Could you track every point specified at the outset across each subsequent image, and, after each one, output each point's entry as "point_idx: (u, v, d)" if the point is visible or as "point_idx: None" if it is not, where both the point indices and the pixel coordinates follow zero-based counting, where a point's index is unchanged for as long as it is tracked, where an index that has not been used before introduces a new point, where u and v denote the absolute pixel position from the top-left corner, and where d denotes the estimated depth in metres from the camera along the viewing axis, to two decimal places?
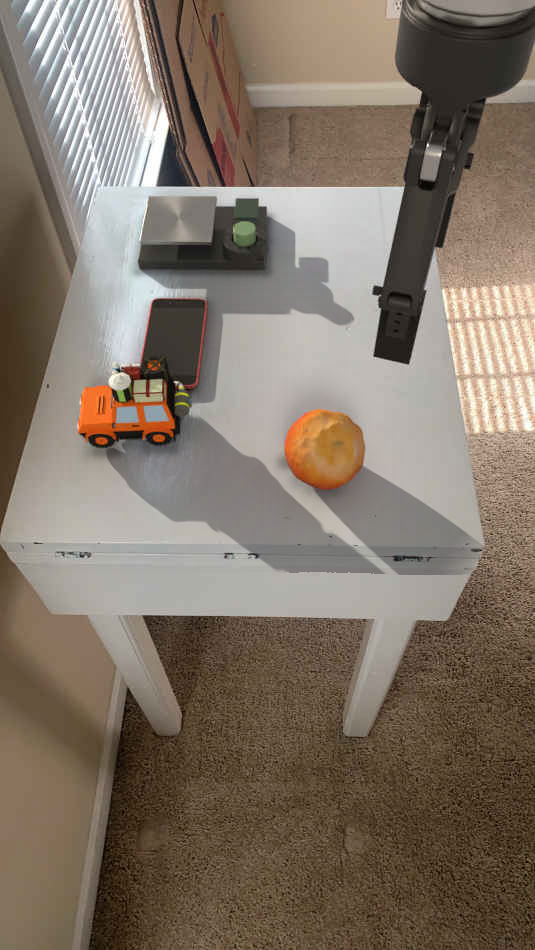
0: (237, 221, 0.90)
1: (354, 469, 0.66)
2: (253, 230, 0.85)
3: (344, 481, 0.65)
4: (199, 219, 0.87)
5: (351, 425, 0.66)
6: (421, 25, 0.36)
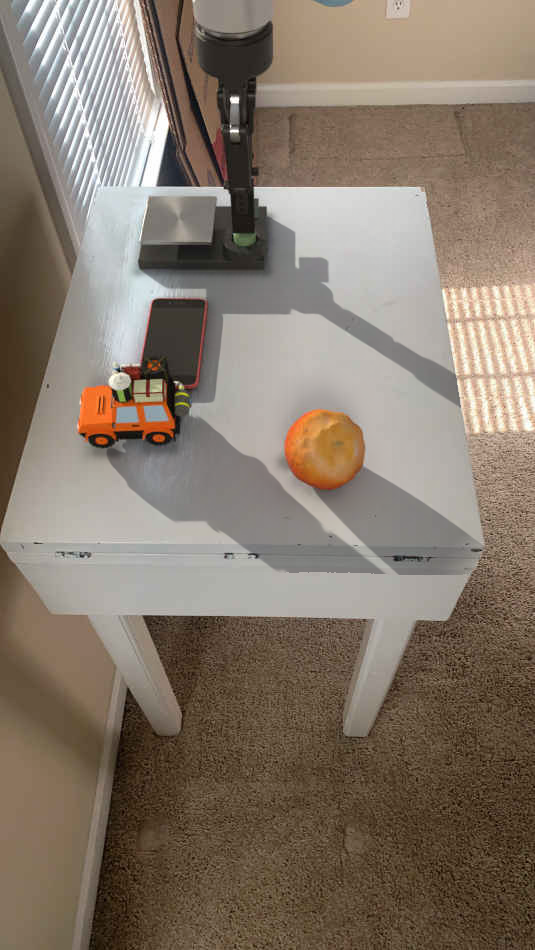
0: None
1: (354, 469, 0.66)
2: (253, 233, 0.85)
3: (344, 481, 0.65)
4: (199, 219, 0.87)
5: (351, 425, 0.66)
6: (209, 42, 0.64)
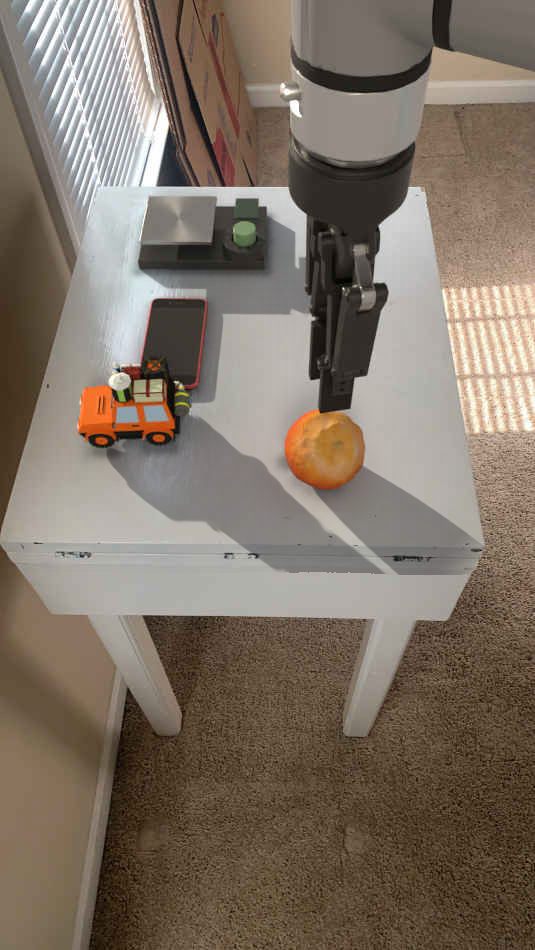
0: (237, 221, 0.90)
1: (354, 469, 0.66)
2: (253, 230, 0.85)
3: (344, 481, 0.65)
4: (199, 219, 0.87)
5: (351, 425, 0.66)
6: (327, 176, 0.39)
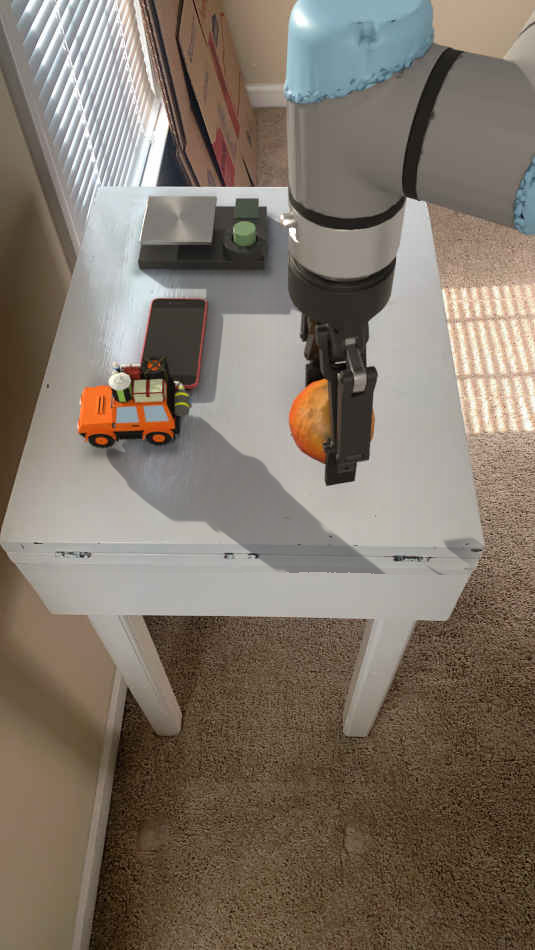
0: (237, 221, 0.90)
1: None
2: (253, 230, 0.85)
3: None
4: (199, 219, 0.87)
5: None
6: (320, 288, 0.46)
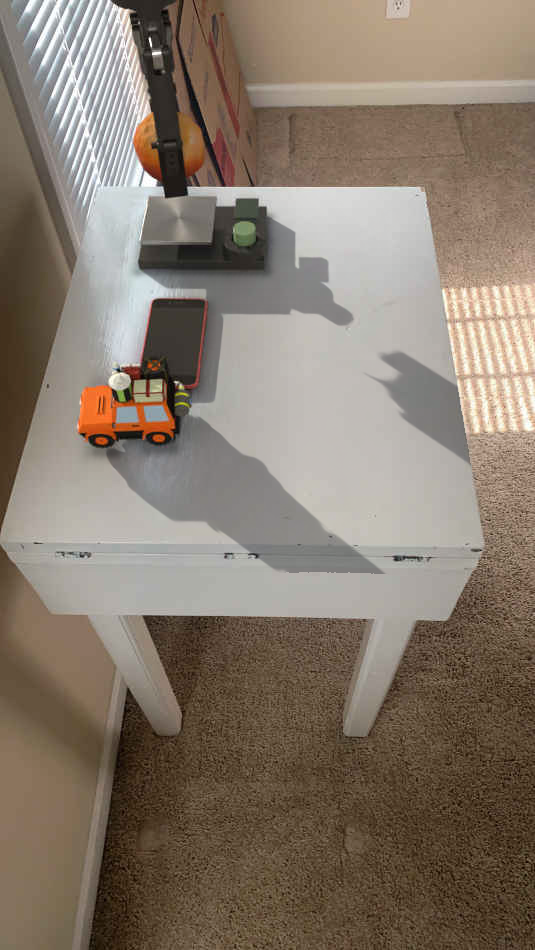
0: (237, 221, 0.90)
1: (191, 157, 0.78)
2: (253, 230, 0.85)
3: None
4: (199, 219, 0.87)
5: (189, 121, 0.78)
6: None
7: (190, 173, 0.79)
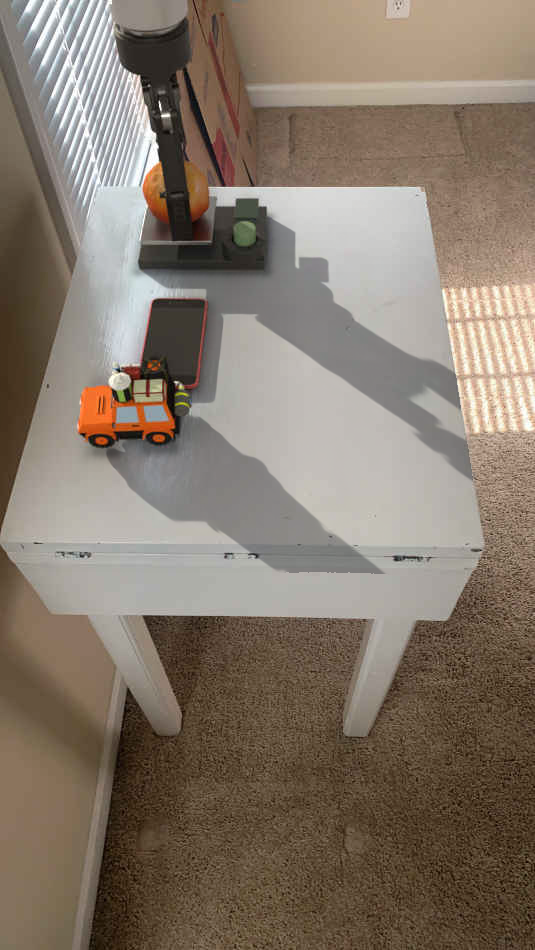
0: (237, 221, 0.90)
1: (197, 203, 0.83)
2: (253, 230, 0.85)
3: None
4: (199, 219, 0.87)
5: (195, 169, 0.83)
6: (131, 41, 0.67)
7: (196, 218, 0.84)
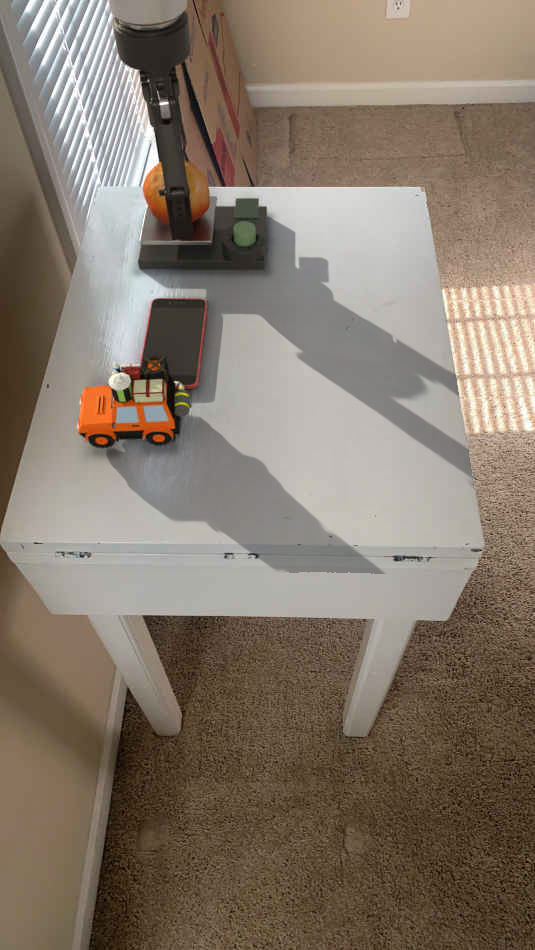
0: (237, 221, 0.90)
1: (197, 204, 0.83)
2: (253, 230, 0.85)
3: None
4: (199, 219, 0.87)
5: (195, 169, 0.83)
6: (130, 35, 0.66)
7: (196, 218, 0.84)
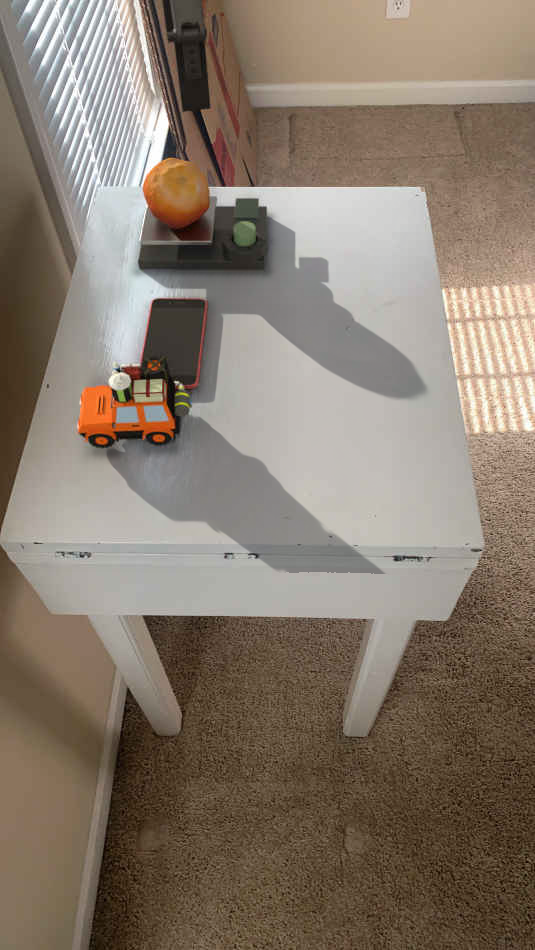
0: (237, 221, 0.90)
1: (197, 204, 0.83)
2: (253, 230, 0.85)
3: (188, 211, 0.82)
4: (199, 219, 0.87)
5: (195, 169, 0.83)
6: None
7: (196, 218, 0.84)
